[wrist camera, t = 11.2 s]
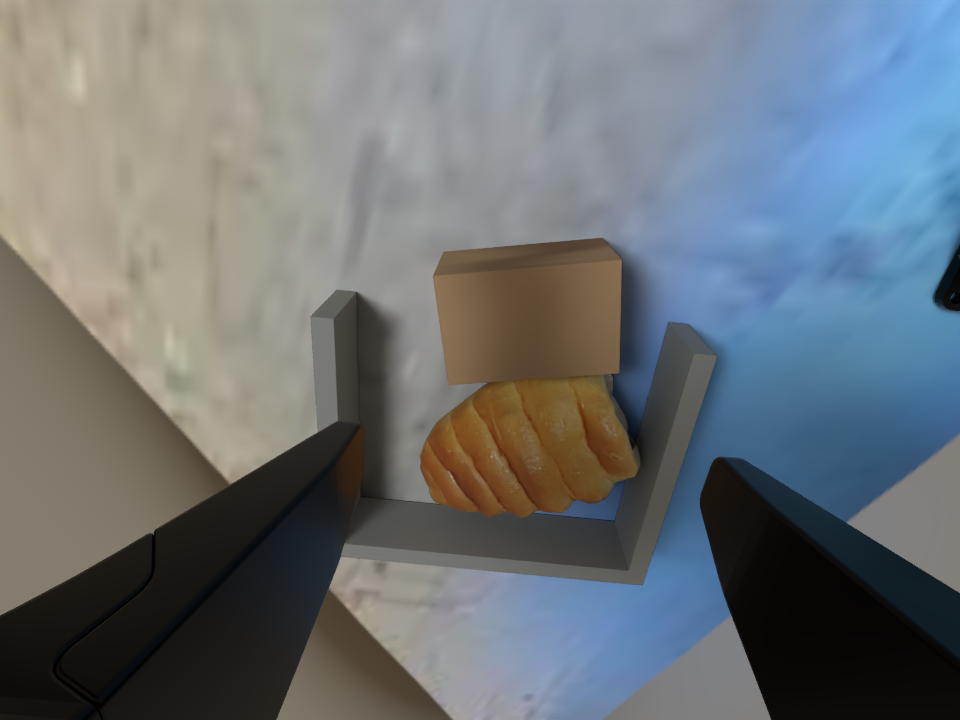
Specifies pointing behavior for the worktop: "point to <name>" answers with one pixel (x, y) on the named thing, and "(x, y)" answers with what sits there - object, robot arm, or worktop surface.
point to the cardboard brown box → (530, 311)
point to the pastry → (530, 447)
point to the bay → (537, 537)
